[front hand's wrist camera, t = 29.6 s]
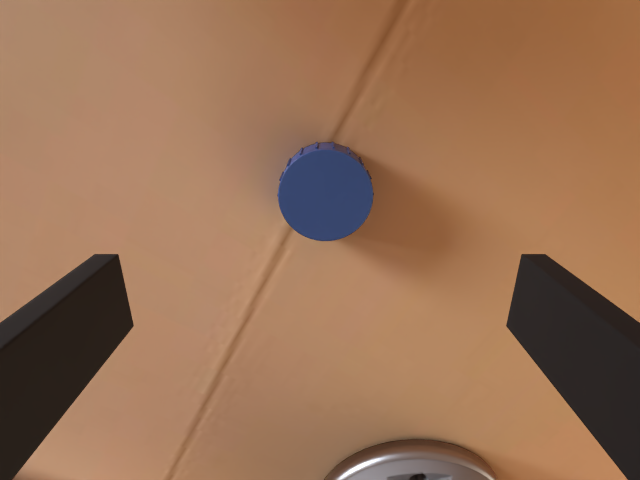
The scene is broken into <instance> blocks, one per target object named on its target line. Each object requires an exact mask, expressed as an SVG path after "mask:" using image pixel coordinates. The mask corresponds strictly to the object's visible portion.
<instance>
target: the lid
mask: <svg viewBox="0 0 640 480" xmlns="http://www.w3.org/2000/svg"><path fill="white" fill-rule="evenodd" d="M370 179H371V176H370V174H369V172H368V170H367V171H366V169H365V167H364V164H363V162H362V160H361V158H360V157H359V158H358V157H357V155H356V154H354V153H353V152H352V151H351V150H350V149H349V147H347V148H346V147H344V146H341V145H338V144H335V143H334V142H332V143H318V142H316V144H313V145H310V146H307V147H305V148H304V149H303V148H301V150H300V151H299V152H298V153H297V154H296V155H295V156H294V157H293V158H292V159H291V158H290V159H289V161H288V164H287V167H286V169H285V171H284V172H283V173H282V175H281V177H280V180H279V181H280V185H279V191H278V200H279V206H280V209H281V212H282V214H283V216H284V218H285V220H286V221H287V223H288V224H289V225H290V226H291V227H292V228H293V229H294V230H295V231H297V232H298V233H300V234H301V235H303V236H305V237H307V238H310V239H314V240H319V241H332V240H337V239H341V238H344V237H346V236H348V235H350V234H351V233H353V232H354V231H356V230H357V229H358V228H359V227H360V226H361V225H362V224H363V223H364V221H365V220H366V218H367V217H368V215H369V213H370V210H371V207H372V202H373V195H374V193H373V188H372V183H371V180H370Z"/></svg>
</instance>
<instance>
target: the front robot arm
mask: <svg viewBox="0 0 640 480" xmlns="http://www.w3.org/2000/svg"><path fill="white" fill-rule="evenodd" d="M133 326H134V325H133V320H132V316H131V311H130V306H129V302H128V297H127V292H126V288H125V283H124V278H123V274H122V269H121V265H120V260H119V255H118V254H94V255H93V256H92V257H90V258H89V259H88V260H86V261H85V262H83V263H82V264H81V265H79V266H78V267H77V268H75V269H74V270H72V271H71V272H70V273H68V274H67V275H66V276H64V277H63V278H61V279H60V280H59V281H57V282H56V283H55V284H53V285H52V286H50V287H49V288H48V289H46V290H45V291H44V292H42V293H41V294H39V295H38V296H37V297H35V298H34V299H33V300H31V301H30V302H28V303H27V304H26V305H24V306H23V307H21V308H20V309H19V310H17V311H16V312H15V313H13V314H12V315H10V316H9V317H8V318H6V319H5V320H4V321H2V322H1V323H0V480H12V479H13V478H14V477H15V475H16V474H17V473H18V471H19V470H20V469H21V468H22V466H23V465H24V464H25V463H26V461H27V460H28V459H29V458H30V456H31V455H32V454H33V453H34V451H35V450H36V449H37V447H38V446H39V445H40V444H41V442H42V441H43V440H44V439H45V437H46V436H47V435H48V434H49V432H50V431H51V430H52V429H53V427H54V426H55V425H56V423H57V422H58V421H59V420H60V418H61V417H62V416H63V415H64V413H65V412H66V411H67V410H68V408H69V407H70V406H71V405H72V403H73V402H74V401H75V399H76V398H77V397H78V396H79V394H80V393H81V392H82V391H83V389H84V388H85V387H86V386H87V384H88V383H89V382H90V381H91V379H92V378H93V377H94V375H95V374H96V373H97V372H98V370H99V369H100V368H101V367H102V365H103V364H104V363H105V362H106V360H107V359H108V358H109V357H110V355H111V354H112V353H113V351H114V350H115V349H116V348H117V346H118V345H119V344H120V343H121V341H122V340H123V339H124V338H125V336H126V335H127V334H128V333H129V331H130V330H131V329H132V327H133ZM506 326H507V327H508V329H509V330H510V331H511V333H512V334H513V335H514V336H515V338H516V339H517V340H518V341H519V343H520V344H521V345H522V346H523V348H524V349H525V350H526V351H527V353H528V354H529V355H530V357H531V358H532V359H533V360H534V362H535V363H536V364H537V365H538V367H539V368H540V369H541V370H542V372H543V373H544V374H545V375H546V377H547V378H548V379H549V381H550V382H551V383H552V384H553V386H554V387H555V388H556V389H557V391H558V392H559V393H560V394H561V396H562V397H563V398H564V399H565V401H566V402H567V403H568V405H569V406H570V407H571V408H572V410H573V411H574V412H575V413H576V415H577V416H578V417H579V418H580V420H581V421H582V422H583V423H584V425H585V426H586V427H587V429H588V430H589V431H590V432H591V434H592V435H593V436H594V437H595V439H596V440H597V441H598V442H599V444H600V445H601V446H602V447H603V449H604V450H605V451H606V453H607V454H608V455H609V456H610V458H611V459H612V460H613V461H614V463H615V464H616V465H617V466H618V468H619V469H620V470H621V471H622V473H623V474H624V475H625V477H626V478H627V479H628V480H640V323H639V322H638V321H636V320H635V319H634V318H632V317H631V316H630V315H628V314H627V313H625V312H624V311H623V310H621V309H620V308H619V307H617V306H616V305H614V304H613V303H612V302H610V301H609V300H607V299H606V298H605V297H603V296H602V295H601V294H599V293H598V292H596V291H595V290H594V289H592V288H591V287H590V286H588V285H587V284H585V283H584V282H583V281H581V280H580V279H579V278H577V277H576V276H574V275H573V274H572V273H570V272H569V271H568V270H566V269H565V268H563V267H562V266H561V265H559V264H558V263H557V262H555V261H554V260H552V259H551V258H550V257H548V256H547V255H546V254H522V255H521V260H520V265H519V269H518V274H517V278H516V283H515V288H514V292H513V297H512V302H511V306H510V311H509V316H508V320H507V325H506ZM325 480H498V479H497V477H496V475H495V473H494V472H493V470H492V469H491V467H490V466H489V465H488V464H487V463H486V462H485V461H483V460H482V459H481V458H480V457H478V456H477V455H475V454H474V453H472V452H470V451H468V450H466V449H463V448H461V447H459V446H455V445H452V444H449V443H444V442H439V441H433V440H400V441H392V442H387V443H383V444H379V445H375V446H372V447H369V448H367V449H364V450H362V451H360V452H357V453H355V454H353V455H352V456H350V457H348V458H347V459H345V460H344V461H342V462H341V463H340V464H338V465H337V466H336V467H335V468H334V469H333V470H332V471H331V472H330V473H329V474H328V475H327V477H326V478H325Z"/></svg>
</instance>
